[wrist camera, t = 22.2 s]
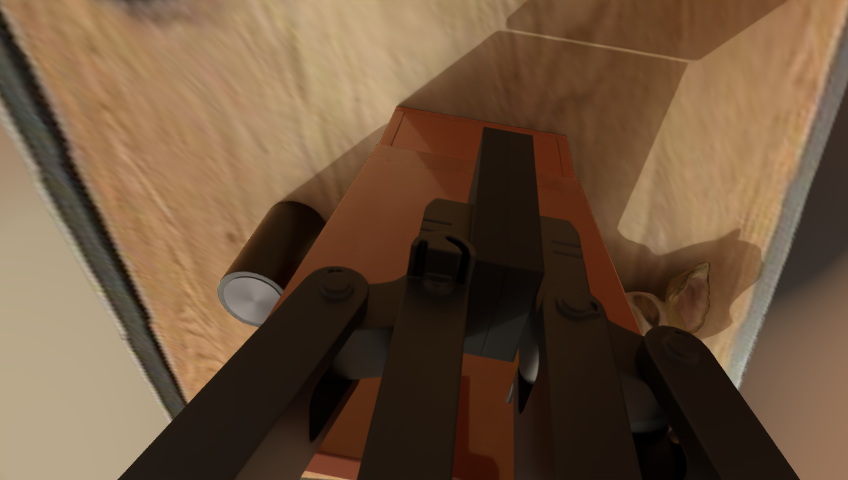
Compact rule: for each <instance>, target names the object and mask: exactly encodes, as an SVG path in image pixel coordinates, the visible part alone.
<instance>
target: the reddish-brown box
mask: <svg viewBox="0 0 848 480" xmlns="http://www.w3.org/2000/svg"><path fill="white" fill-rule="evenodd" d="M483 126H484V127H490V128H495V129H501V130H507V131H512V132H518V133H524V134H529V135H533V144H534V156H535V167H536V172H537V173H543V174H548V175H554V176H559V177H565V178H571V179H575V174H574V170H573V165H572V160H571V155H570V151H569V146H568V141H567V136H563V135H557V134H551V133H546V132H540V131H534V130H529V129H523V128H517V127H512V126H506V125H501V124H495V123H489V122H484V121H478V120H472V119H467V118H461V117H455V116H450V115H444V114H438V113H433V112H427V111H421V110H416V109H410V108H404V107H399V106H396V108H395V111H394V113H393V115H392V117H391V119H390V121H389V124H388V126H387V128H386V130H385V132H384V134H383V137H382V139H381V141H380V143H379V144H381V145H387V146H392V147H398V148H403V149H409V150H414V151H420V152H426V153H431V154H437V155H442V156H448V157H453V158H459V159H465V160H470V161H476V159H477V155H478V150H479V145H480V140H481V136H482V131H483Z"/></svg>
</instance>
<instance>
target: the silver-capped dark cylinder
mask: <svg viewBox="0 0 848 480" xmlns="http://www.w3.org/2000/svg"><path fill="white" fill-rule="evenodd" d="M324 227H325V222H324V220H323V219H322V218H321V216H320V215H319V214H318V213H317V212H316V211H315V210H313V209H312V208H310V207H309V206H306V205H304V204H302V203H298V202H290V201H288V202H281V203H278V204H276V205H275V206H273V207H272V208H271V209H270V210H269V211H268V213H267V214H266V216H265V217H264V219H263V220H262V221H261V223H260V224H259V226H258V227H257V229H256V230H255V232H254V233H253V234H252V236H251V237H250V239H249V240H248V242H247V243H246V245H245V246H244V247H243V249H242V250H241V252H240V253H239V255H238V256H237V258H236V259H235V260H234V262H233V263H232V265H231V266H230V268H229V269H228V271H227V272H226V273H225V275H224V276H223V278H222V279H221V281H220V283H219V285H218V296H219V299H220V302H221V303H222V305H223V306H224V308H225V309H226V310H227V311H228V312H229V313H230V314H231V315H232V316H234V317H235V318H237V319H238V320H240V321H242V322H244V323H246V324H249V325H252V326H256V327H260V326H261V325H262V324H263V323H264V321H265V320H266V318H267V317H268V315H269V314H270V312H271V310H272V309H273V307H274V306H275V304H276V303H277V301H278V299H279V298H280V296H281V295H282V293H283V291H284V290H285V288H286V287H287V285H288V284H289V282H290V280H291V279H292V277H293V276H294V274H295V273H296V271H297V269H298V268H299V266H300V265H301V263H302V261H303V260H304V258H305V257H306V255H307V254H308V252H309V250H310V249H311V247H312V246H313V244H314V242H315V241H316V239H317V238H318V236H319V235H320V233H321V231H322V230H323V228H324Z"/></svg>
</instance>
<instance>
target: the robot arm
mask: <svg viewBox="0 0 848 480" xmlns="http://www.w3.org/2000/svg"><path fill="white" fill-rule="evenodd" d="M518 348H519V365H518V367H517V370H516V373H515V376H514V378H513V381H512V384H511V387H510V390H509V392H508V395H507V399H506V403H508V404H510V403H511V401H512V398H513V442H514V480H800V479H799V478H798V476H797V475H796V473H795V472H794V470H793V469H792V467H791V466H790V465H789V463H788V462H787V460H786V459H785V457H784V456H783V455H782V453H781V452H780V450H779V449H778V447H777V446H776V445H775V443H774V442H773V440H772V439H771V437H770V436H769V434H768V433H767V432H766V430H765V429H764V427H763V426H762V424H761V423H760V422H759V420H758V419H757V417H756V416H755V414H754V413H753V411H752V410H751V409H750V407H749V406H748V405H747V403H746V402H745V400H744V399H743V397H742V396H741V394H740V393H739V391H738V390H737V389H736V387H735V386H734V384H733V383H732V381H731V380H730V378H729V377H728V376H727V374H726V373H725V371H724V370H723V368H722V367H721V366H720V364H719V363H718V361H717V360H716V358H715V357H714V355H713V354H712V353H711V351H710V350H709V349H708V348H707V347H706V346H705V345H704V343H703V342H702V341H701V340H699V339H698V338H696V337H695V336H693V335H692V334H690V333H689V332H686V331H684V330H682V329H679V328H677V327H672V326H666V325H661V326H655V327H652V328H651V329H650V330H648V331H647V332H646V334H645V336H642V335H640V334H638V333H635V332H633V331H631V330H628V329H626V328H623V327H621V326H619V325H617V324H615V323H614V322H612V321H611V320H609V319H608V318H607V314H606V311H605V309H604V307H603V305H602V303H601V302H600V301H599V300H598V299H597V298H596V297H595V296H593V295H592V294H591V293H590V288H589V283H588V277H587V272H586V267H585V262H584V259H583V251H582V248H581V241H580V236H579V233H578V231H577V230H576V229H575V227H574V226H573V225H572V224H571V222H570V221H569V220H564V219H558V218H553V217H547V216H542V215H540V212H539V200H538V189H537V178H536V167H535V156H534V144H533V135H529V134H524V133H518V132H512V131H507V130H501V129H495V128H490V127H484V126H483V131H482V136H481V140H480V145H479V150H478V155H477V159H476V164H475V169H474V173H473V178H472V183H471V188H470V192H469V197H468V202H467V203H462V202H457V201H451V200H446V199H440V198H435V199H434V200H433V201H432V202H430V203H429V204H428V205H427V206H426V207H425V211H424V215H423V220H422V224H421V228H420V232H419V236H418V237H416V238H415V239H414V241H413V242H412V244H411V249H410V256H409V263H408V270H407V273H406V274H405V275H404V276H402V277H400V278H399V279H397V280H394V281H390V282H385V283H374V284H368V281H367V280H366V279H365V278H364V276H363V275H362V274H361V273H359V272H357V271H355V270H353V269H351V268H347V267H342V266H327V267H324V268H321V269H317V270H315V271H314V272H312V273H311V274H309V275H308V276H307V277H306V278H305V279H304V280H303V281H302V282H301V283H300V284H299V285H298V286H297V287H296V288H295V290H294V291H293V292H292V293H291V294H290V295H289V296H288V297H287V298H286V299H285V300H284V301H283V302H282V304H281V305H280V306H279V307H278V308H277V309H276V310H275V311H274V312H273V313H272V314H271V315H270V316H269V317H268V319H267V320H266V321H265V322H264V323H263V324H262V325H261V326H260V327H259V328H258V329H257V330H256V331H255V333H254V334H253V335H252V336H251V337H250V338H249V339H248V340H247V341H246V342H245V343H244V344H243V345H242V347H241V348H240V349H239V350H238V351H237V352H236V353H235V354H234V355H233V356H232V357H231V358H230V359H229V360H228V362H227V363H226V364H225V365H224V366H223V367H222V368H221V369H220V370H219V371H218V372H217V373H216V374H215V376H214V377H213V378H212V379H211V380H210V381H209V382H208V383H207V384H206V385H205V386H204V387H203V388H202V390H201V391H200V392H199V393H198V394H197V395H196V396H195V397H194V398H193V399H192V400H191V401H190V402H189V403H188V405H187V406H186V407H185V408H184V409H183V410H182V411H181V412H180V413H179V414H178V415H177V416H176V417H175V419H174V420H173V421H172V422H171V423H170V424H169V425H168V426H167V427H166V428H165V429H164V430H163V431H162V433H161V434H160V435H159V436H158V437H157V438H156V439H155V440H154V441H153V442H152V443H151V445H149V446H148V448H147V449H146V450H145V451H144V452H143V453H142V454H141V455H140V456H139V457H138V458H137V459H136V461H135V462H134V463H133V464H132V465H131V466H130V467H129V468H128V469H127V470H126V472H124V473H123V474H122V476H121V477H120V478H119V479H118V480H299V479H300V477H301V476H302V474H303V473H304V471H305V469H306V468H307V466H308V465H309V463H310V461H311V460H312V458H313V457H314V455H315V453H316V452H317V450H318V449H319V447H320V445H321V444H322V442H323V440H324V439H325V437H326V436H327V434H328V432H329V431H330V429H331V428H332V426H333V424H334V423H335V421H336V420H337V418H338V416H339V415H340V413H341V411H342V410H343V408H344V407H345V405H346V403H347V402H348V400H349V399H350V397H351V395H352V394H353V392H354V391H355V389H356V387H357V386H358V384H359V381H360V379H366V378H377V377H382V378H381V383H380V387H379V391H378V395H377V399H376V403H375V407H374V411H373V415H372V419H371V423H370V427H369V431H368V436H367V440H366V444H365V448H364V452H363V456H362V460H361V464H360V468H359V472H358V476H357V480H452V473H453V462H454V451H455V440H456V429H457V417H458V406H459V395H460V384H461V373H462V362H463V353H465V354H470V355H475V356H480V357H486V358H491V359H496V360H501V361H507V362H512V363H513V362H514V359H515V357H516V354H517V351H518Z"/></svg>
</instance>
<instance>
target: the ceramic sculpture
mask: <svg viewBox="0 0 848 480" xmlns="http://www.w3.org/2000/svg"><path fill="white" fill-rule="evenodd" d="M709 271H710V263H709V262H702V263H700V264H698V265H697V266H695V267H693V268H691V269H688V270H686V271H685V272H683V273H681V274H680V275H678V276H676V277H675V278H673V279H671V280H670V282H669V283H668V284H667V287H666V300H665V302H662V301H661V300H660V299H659V298H658V297H656V296H654V295H652V294H650V293H644V292H628V293H625V294H626V296H627V299H628V301H629V304H630V306H631V309H632V311H633V314H634V316H635V318H636V321H637V323H638V326H639V328H640V331H641V333H642V336H645V334H646V332H647V331H648V330H650V329H651V328H652V327H655V326H661V325H666V326H672V327H677V328H679V329H682V330H684V331H686V332H689V333H690V334H693V333H695V332H697V331H698V330H699V329H700V328H701V326H702V325H703V324H704V321H705V315H706V314H707V313H708V311H709V307H710V304H709V303H710V300H709V296H708V295H709V294H710V293H709V275H708V274H709Z"/></svg>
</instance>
